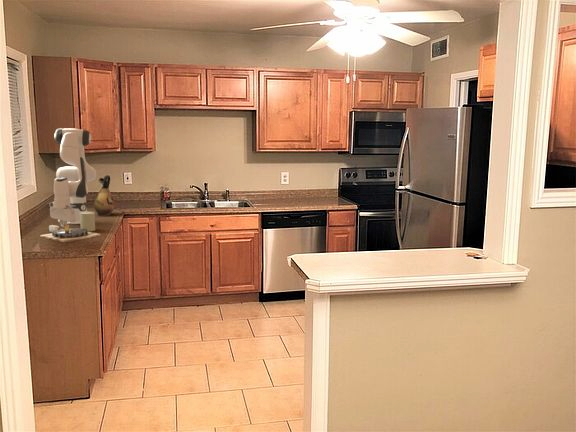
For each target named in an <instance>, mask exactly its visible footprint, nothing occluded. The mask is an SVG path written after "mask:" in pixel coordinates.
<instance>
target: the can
mask: <svg viewBox="0 0 576 432" xmlns="http://www.w3.org/2000/svg"><path fill="white" fill-rule="evenodd" d="M95 212H96V211H88V212H81V213H80V224H79V225H80V228H82V229H86V230H88V232H93V231H96V230H97V229H96V219H95V218H96V213H95Z"/></svg>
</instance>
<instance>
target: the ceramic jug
mask: <svg viewBox="0 0 576 432" xmlns="http://www.w3.org/2000/svg"><path fill="white" fill-rule="evenodd" d="M98 182H99V183H100V184H102V187H101V189H100V190H99V191H98V192H97V194H96V196H95V198H94V201H93V208H94V210H95V212H96V213H97V216H100V217H103V216H104V217H105V216H106V217H107V216H111V215H112V213H113V212H114V210H115V208H116V201H115V198H114V196H113V194H112V193H111V191H110V189H109V187H110V183H111V176H110V175H108V174H107V175H105V176H104V177H100V178H98Z"/></svg>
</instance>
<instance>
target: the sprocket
mask: <svg viewBox="0 0 576 432" xmlns="http://www.w3.org/2000/svg"><path fill="white" fill-rule="evenodd" d="M88 232H89V231H88V230H86V229H82V228H81V227H78V228H77V227H71V228H70V224H66V225H65V228H60V230H55V231H53V232H51V233H52V236H54V237H65V238H67V237H81V236H85V234H88Z"/></svg>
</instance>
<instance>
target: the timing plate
mask: <svg viewBox="0 0 576 432" xmlns="http://www.w3.org/2000/svg"><path fill="white" fill-rule="evenodd" d="M60 229H61V226H59V227H58V228H57V230H60ZM38 236H39V238H43V239H47V240H52V241H56V242H61V243H70V242H75V241H80V240H86V239H91V238H96V237H101V233H97V232H93V231H88V234H85V236H81V237H67V238H65V237H54V236H52V232H49V233H45V234H39V235H38Z"/></svg>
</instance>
